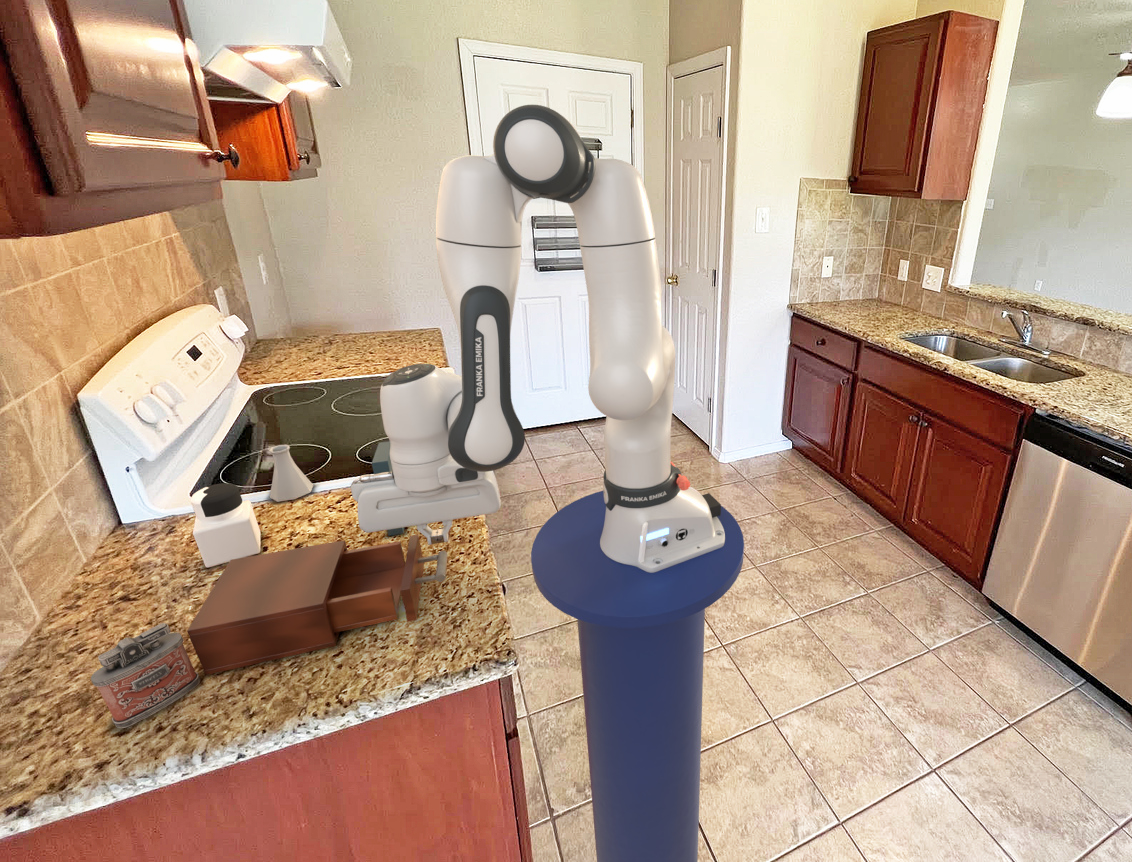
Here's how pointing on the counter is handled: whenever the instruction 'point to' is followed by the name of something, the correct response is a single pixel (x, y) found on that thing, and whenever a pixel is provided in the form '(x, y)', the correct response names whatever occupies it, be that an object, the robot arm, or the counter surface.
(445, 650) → the counter surface
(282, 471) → the flask
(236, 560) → the cabinet
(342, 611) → the drawer
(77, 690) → the counter surface
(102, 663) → the lighter
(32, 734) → the counter surface
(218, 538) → the medicine bottle
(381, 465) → the dark teal rectangular block
